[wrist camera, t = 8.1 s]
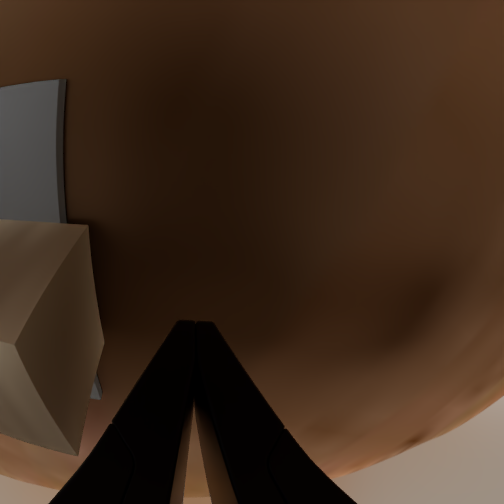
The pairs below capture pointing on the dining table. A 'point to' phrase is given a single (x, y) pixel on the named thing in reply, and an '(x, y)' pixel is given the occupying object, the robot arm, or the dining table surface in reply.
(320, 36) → the dining table surface
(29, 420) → the pillar
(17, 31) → the dining table surface
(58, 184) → the mat
